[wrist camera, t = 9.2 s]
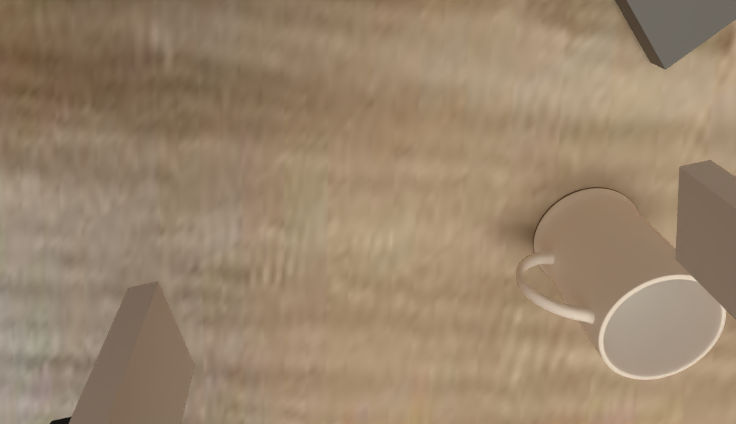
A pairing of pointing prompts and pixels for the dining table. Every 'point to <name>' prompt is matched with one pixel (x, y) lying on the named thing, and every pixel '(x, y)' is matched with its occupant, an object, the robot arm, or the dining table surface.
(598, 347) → the mug
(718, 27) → the tuner board
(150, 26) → the dining table surface
